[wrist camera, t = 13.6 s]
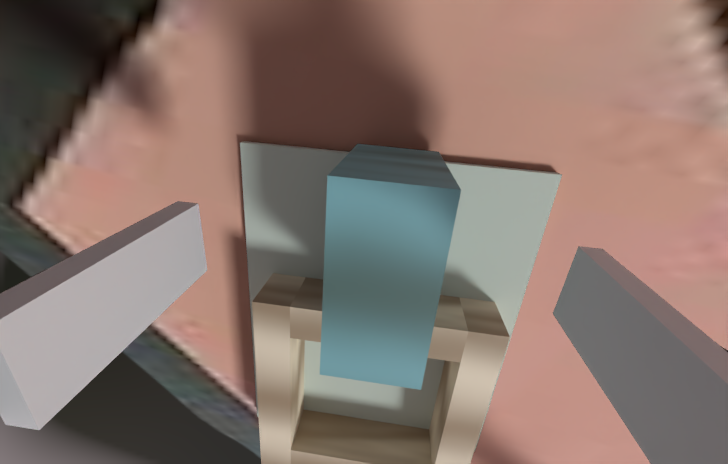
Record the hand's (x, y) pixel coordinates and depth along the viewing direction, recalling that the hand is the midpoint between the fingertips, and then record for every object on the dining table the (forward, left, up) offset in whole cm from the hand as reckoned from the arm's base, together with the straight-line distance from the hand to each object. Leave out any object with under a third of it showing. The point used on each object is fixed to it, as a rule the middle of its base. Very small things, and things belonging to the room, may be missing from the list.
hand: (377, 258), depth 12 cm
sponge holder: (+7, 0, -6) cm, 10 cm away
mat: (+7, 0, -7) cm, 10 cm away
